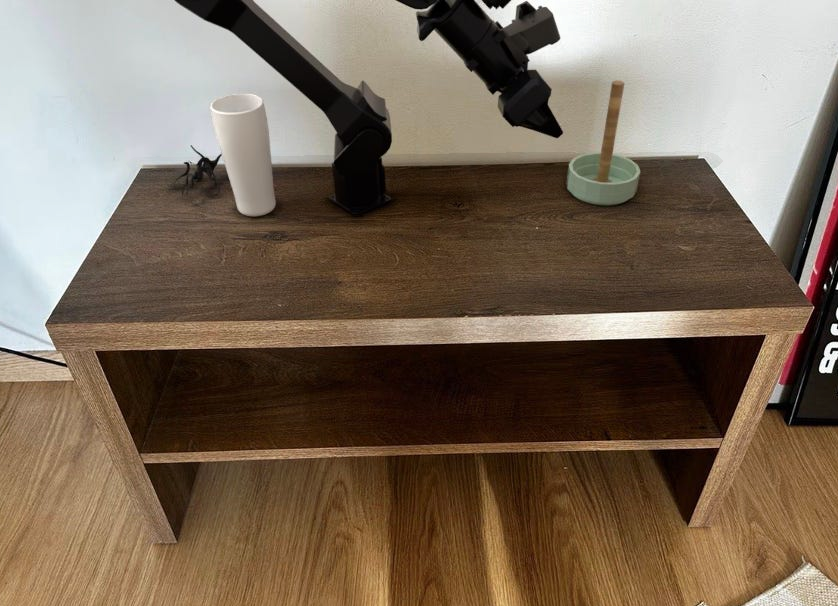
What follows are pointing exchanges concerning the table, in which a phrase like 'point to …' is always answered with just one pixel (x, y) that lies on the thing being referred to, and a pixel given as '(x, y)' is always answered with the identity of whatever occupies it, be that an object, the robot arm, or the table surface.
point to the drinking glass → (245, 151)
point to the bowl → (602, 193)
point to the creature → (200, 171)
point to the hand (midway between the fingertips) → (551, 121)
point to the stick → (610, 131)
